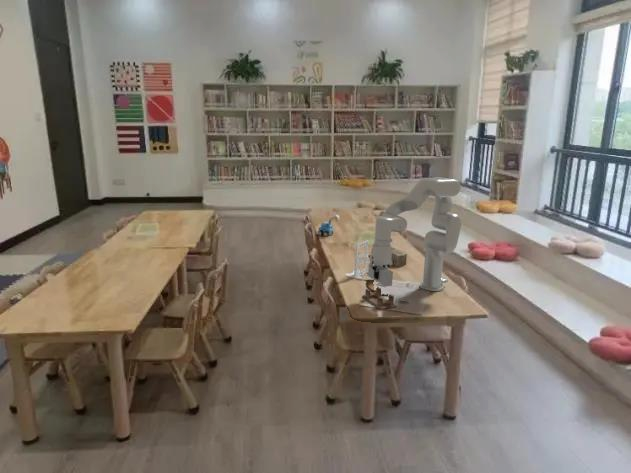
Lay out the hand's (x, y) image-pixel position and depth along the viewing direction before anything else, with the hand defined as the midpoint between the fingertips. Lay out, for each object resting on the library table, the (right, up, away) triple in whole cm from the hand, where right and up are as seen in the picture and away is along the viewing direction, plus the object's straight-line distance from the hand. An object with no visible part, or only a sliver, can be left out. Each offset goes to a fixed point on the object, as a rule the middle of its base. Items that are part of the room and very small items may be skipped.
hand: (379, 277), depth 227 cm
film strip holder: (-6, -2, +43) cm, 43 cm away
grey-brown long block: (+16, +5, +72) cm, 74 cm away
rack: (0, -12, +4) cm, 13 cm away
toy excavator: (-22, +21, +130) cm, 133 cm away
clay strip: (0, -1, 0) cm, 1 cm away
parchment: (+2, -8, +23) cm, 24 cm away
